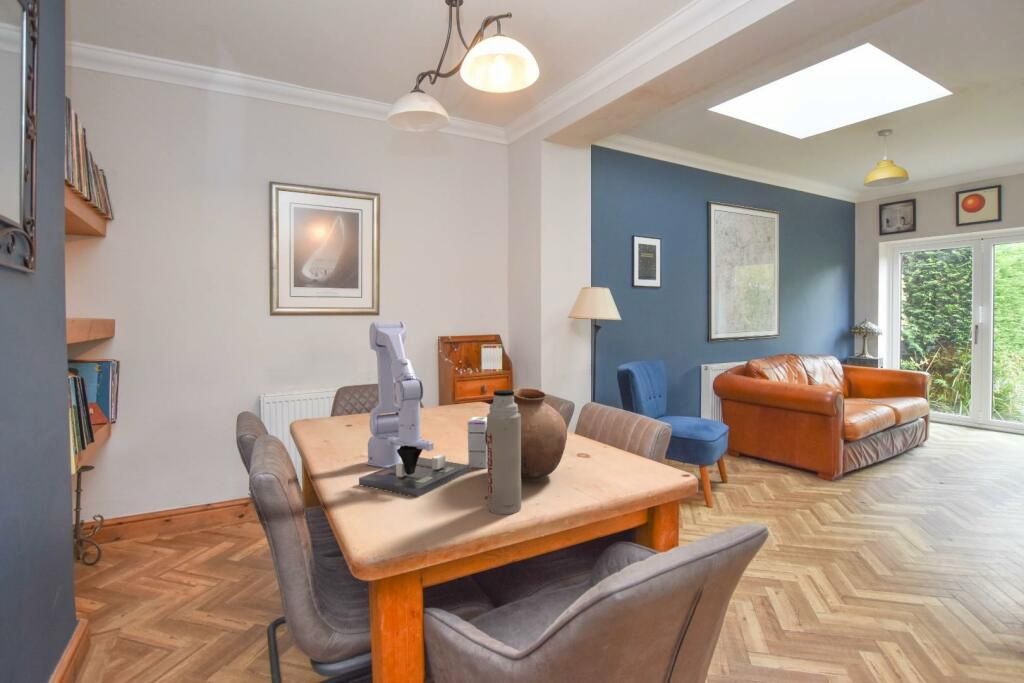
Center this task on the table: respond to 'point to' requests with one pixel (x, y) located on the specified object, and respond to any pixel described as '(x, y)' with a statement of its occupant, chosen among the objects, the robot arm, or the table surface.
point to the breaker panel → (415, 477)
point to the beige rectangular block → (400, 470)
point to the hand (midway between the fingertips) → (410, 473)
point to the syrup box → (477, 442)
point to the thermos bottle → (504, 454)
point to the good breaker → (438, 461)
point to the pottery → (539, 434)
